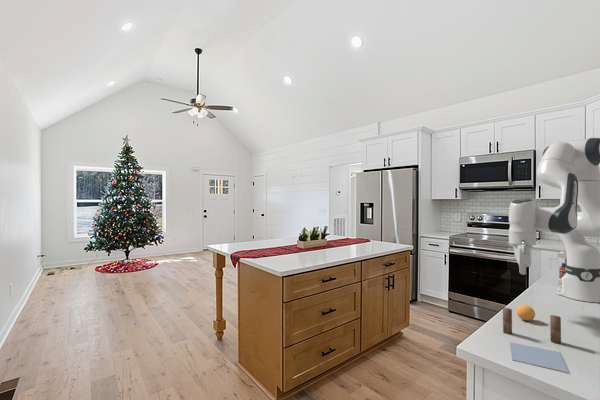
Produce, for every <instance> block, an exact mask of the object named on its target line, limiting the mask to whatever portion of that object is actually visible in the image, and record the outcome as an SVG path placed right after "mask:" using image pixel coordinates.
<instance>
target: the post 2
mask: <svg viewBox="0 0 600 400" xmlns="http://www.w3.org/2000/svg"><path fill="white" fill-rule="evenodd" d="M549 317H550V318H549V321H550V322H549V324H550V325H549V327H550V329H549V330H550V333H549V334H550V342H551V343H553V344H558V345H560V344H562V320H561V319H562V318H561V317H560V316H559V315H553V314H551V315H550V316H549Z"/></svg>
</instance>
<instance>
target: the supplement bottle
mask: <svg viewBox="0 0 600 400" xmlns="http://www.w3.org/2000/svg"><path fill="white" fill-rule="evenodd" d="M566 264H567V263H562V266H561V267H560V268H559V267H558V268H559V269H558V275H559V277H558V280H559V279H560V278H561V279H562V277H563V276H564V275H565V273H566V272H565V267H566ZM560 285H562V284H560Z"/></svg>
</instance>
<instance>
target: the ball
mask: <svg viewBox="0 0 600 400" xmlns="http://www.w3.org/2000/svg"><path fill="white" fill-rule="evenodd" d="M516 315H517V317H519V318H520V319H521V320H523V321H527V322H529V321H532V320H534V319H535V317H536V312H535V310H534V309H533V308H532V307H531V306H530V305H527V304H521V305H519V306H517V308H516Z"/></svg>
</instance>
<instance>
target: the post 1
mask: <svg viewBox="0 0 600 400" xmlns="http://www.w3.org/2000/svg"><path fill="white" fill-rule="evenodd" d="M502 333H503V334H507V335H513V309H511V308H509V307H503V308H502Z"/></svg>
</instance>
